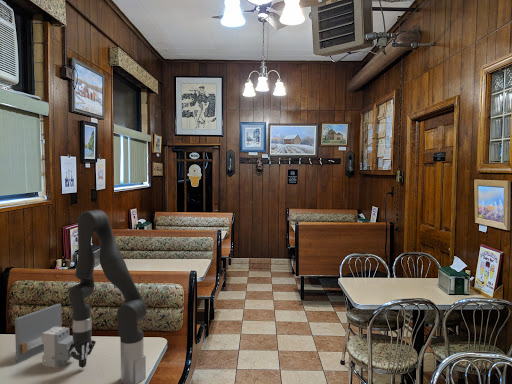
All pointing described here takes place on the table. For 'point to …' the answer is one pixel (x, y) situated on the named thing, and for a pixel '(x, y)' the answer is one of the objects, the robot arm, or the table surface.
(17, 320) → the mounting panel
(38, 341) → the din rail
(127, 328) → the robot arm
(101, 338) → the table surface
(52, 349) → the circuit breaker
